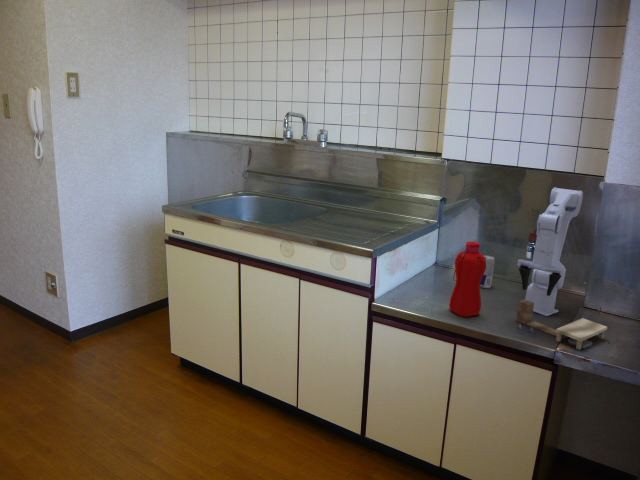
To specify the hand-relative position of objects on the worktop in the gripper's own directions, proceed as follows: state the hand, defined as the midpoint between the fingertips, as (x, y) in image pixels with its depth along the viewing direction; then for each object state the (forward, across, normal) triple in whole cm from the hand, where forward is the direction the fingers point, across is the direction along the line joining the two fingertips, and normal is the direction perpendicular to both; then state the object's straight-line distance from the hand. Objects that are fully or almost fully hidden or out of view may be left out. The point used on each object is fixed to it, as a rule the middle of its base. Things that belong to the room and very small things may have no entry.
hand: (536, 292), depth 176 cm
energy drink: (+9, -28, +28) cm, 40 cm away
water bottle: (+12, -22, -4) cm, 25 cm away
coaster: (+13, +16, 0) cm, 20 cm away
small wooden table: (+12, +15, +3) cm, 19 cm away
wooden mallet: (+12, +2, +3) cm, 12 cm away
